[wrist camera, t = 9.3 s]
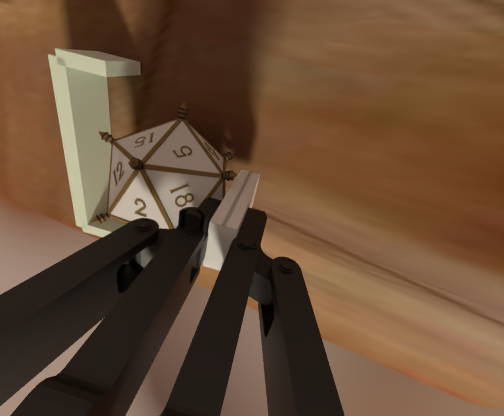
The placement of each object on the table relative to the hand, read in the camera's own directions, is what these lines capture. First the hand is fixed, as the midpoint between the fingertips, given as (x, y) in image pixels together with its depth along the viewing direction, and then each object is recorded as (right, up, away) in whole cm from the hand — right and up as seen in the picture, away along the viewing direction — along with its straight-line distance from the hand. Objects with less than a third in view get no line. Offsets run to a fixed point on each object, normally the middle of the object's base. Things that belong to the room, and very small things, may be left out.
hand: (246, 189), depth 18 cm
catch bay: (-10, +4, +3) cm, 11 cm away
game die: (-4, +2, +2) cm, 5 cm away
